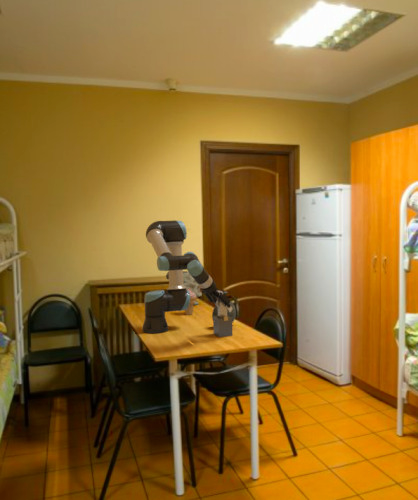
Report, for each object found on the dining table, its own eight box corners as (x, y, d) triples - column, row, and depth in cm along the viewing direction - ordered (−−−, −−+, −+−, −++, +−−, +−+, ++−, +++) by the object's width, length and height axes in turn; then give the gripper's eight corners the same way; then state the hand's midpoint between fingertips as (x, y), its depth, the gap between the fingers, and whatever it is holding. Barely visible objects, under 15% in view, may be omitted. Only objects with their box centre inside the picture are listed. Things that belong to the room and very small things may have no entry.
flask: (207, 328, 267) (206, 291, 266) (232, 324, 274) (231, 289, 273) (216, 332, 257) (215, 294, 255) (241, 328, 264) (241, 291, 263)
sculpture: (203, 305, 336) (195, 266, 334) (172, 312, 337) (163, 273, 335) (205, 300, 355) (197, 264, 354) (175, 307, 357) (166, 270, 355)
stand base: (214, 341, 236) (213, 319, 235) (204, 334, 251) (204, 313, 250) (242, 338, 241) (241, 316, 240) (230, 332, 256) (230, 311, 255)
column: (220, 334, 243) (220, 298, 242) (218, 332, 247) (217, 297, 246) (227, 333, 245) (227, 297, 243) (224, 332, 248) (224, 296, 247)
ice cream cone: (179, 315, 305) (178, 286, 304) (183, 312, 316) (183, 284, 315) (194, 316, 303) (193, 286, 302) (198, 312, 313) (198, 284, 312)
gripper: (190, 287, 239) (210, 313, 252) (217, 290, 227) (237, 317, 240) (196, 276, 242) (216, 302, 256) (223, 279, 230) (242, 305, 244)
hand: (226, 309), depth 248 cm, fingers closed on column, 5 cm apart
